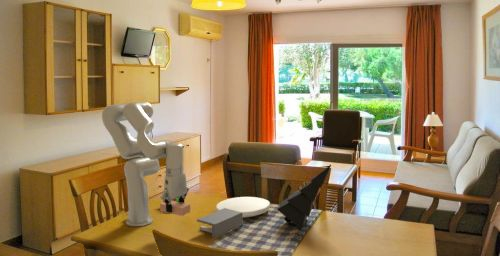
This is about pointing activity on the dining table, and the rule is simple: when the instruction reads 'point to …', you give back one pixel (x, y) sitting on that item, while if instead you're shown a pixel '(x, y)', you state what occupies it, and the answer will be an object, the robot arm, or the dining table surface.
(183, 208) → the slab
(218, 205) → the plate
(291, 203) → the decorative tree
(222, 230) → the grey block with tab
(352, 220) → the dining table surface
